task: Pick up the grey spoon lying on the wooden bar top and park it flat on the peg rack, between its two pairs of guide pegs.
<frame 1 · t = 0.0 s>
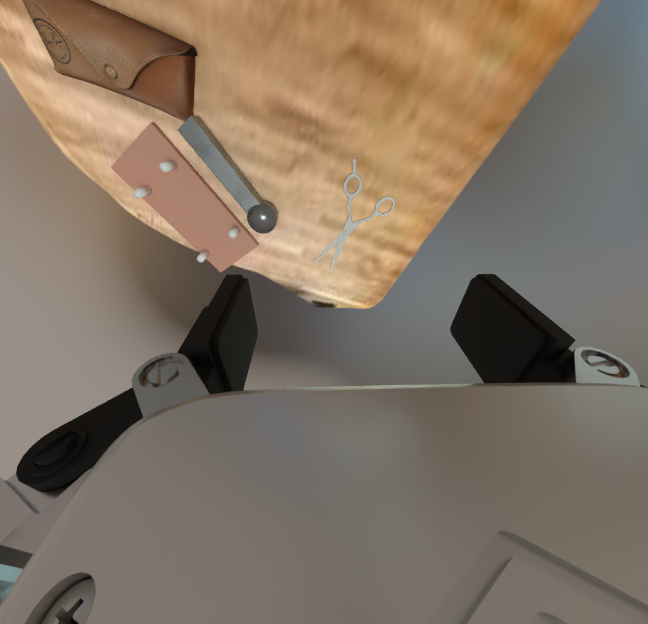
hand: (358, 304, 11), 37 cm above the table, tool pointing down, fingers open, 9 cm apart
scissors: (346, 227, 46), on the table
grey spoon: (228, 168, 39), on the table
sunglasses case: (126, 61, 32), on the table
peg rack: (194, 208, 43), on the table
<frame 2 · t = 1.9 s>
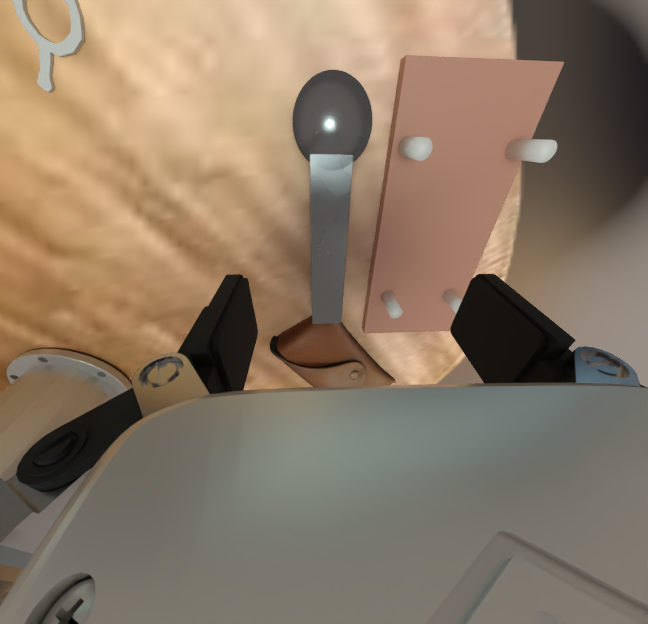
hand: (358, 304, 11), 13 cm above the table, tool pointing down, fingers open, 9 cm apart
grey spoon: (326, 243, 22), on the table
sunglasses case: (340, 358, 32), on the table
peg rack: (430, 233, 22), on the table
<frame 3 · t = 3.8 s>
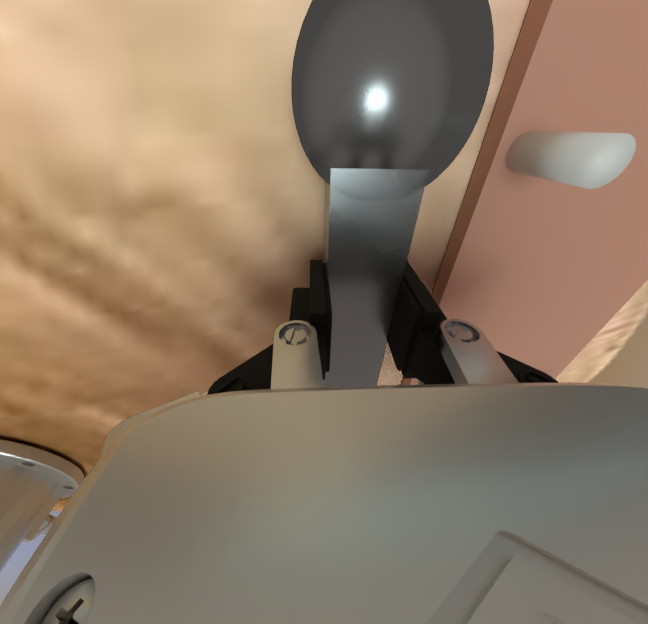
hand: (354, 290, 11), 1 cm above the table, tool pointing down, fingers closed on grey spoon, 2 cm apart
grey spoon: (348, 306, 14), on the table, touching gripper
peg rack: (521, 293, 13), on the table
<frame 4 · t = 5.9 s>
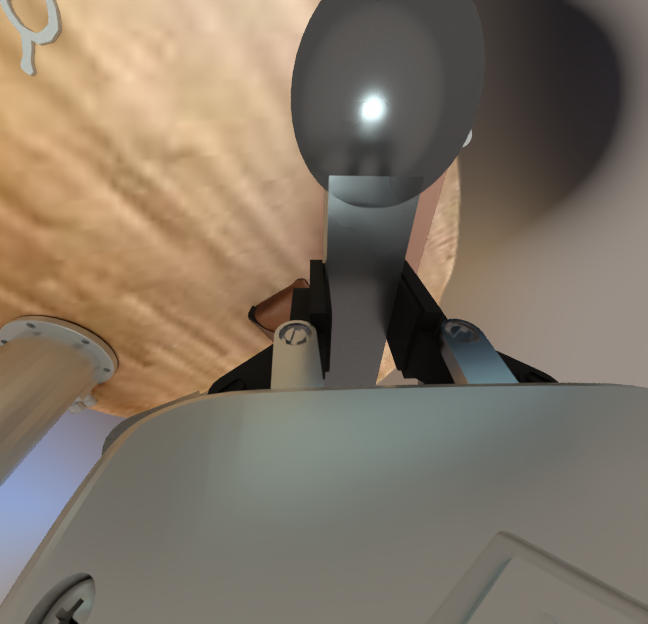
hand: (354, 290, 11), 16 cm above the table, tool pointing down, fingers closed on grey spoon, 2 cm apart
grey spoon: (347, 309, 14), point 14 cm above the table, touching gripper
sunglasses case: (316, 332, 35), on the table
peg rack: (380, 213, 25), on the table
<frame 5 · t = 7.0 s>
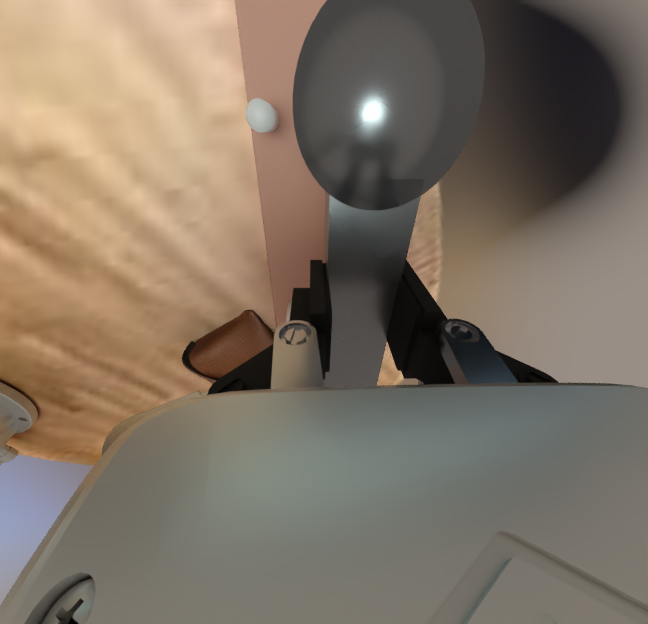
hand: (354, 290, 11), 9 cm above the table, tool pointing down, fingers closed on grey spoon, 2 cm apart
grey spoon: (347, 310, 14), point 7 cm above the table, touching gripper
sunglasses case: (277, 369, 28), on the table
peg rack: (334, 230, 18), on the table
when the fingers open (4 cm above the table, at t = 8.1 s): grey spoon drops 2 cm, resting on peg rack.
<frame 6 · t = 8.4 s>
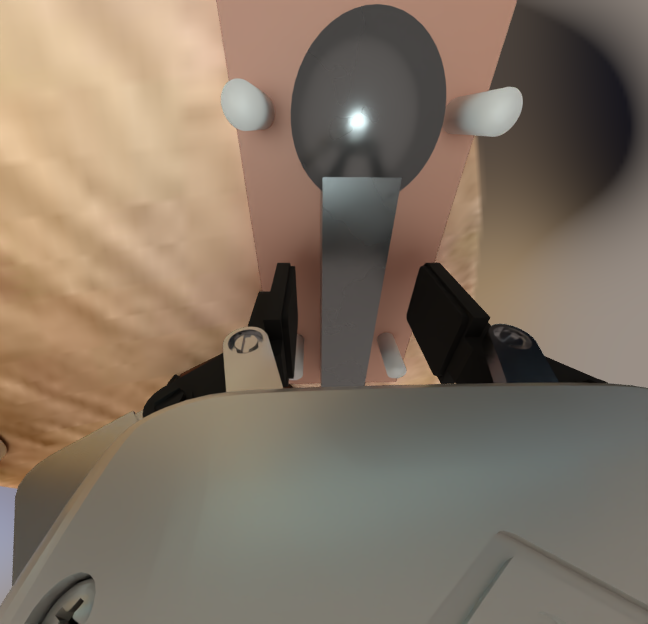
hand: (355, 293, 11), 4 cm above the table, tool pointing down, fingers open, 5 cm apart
grey spoon: (342, 296, 15), point 1 cm above the table, touching peg rack
peg rack: (345, 254, 15), on the table
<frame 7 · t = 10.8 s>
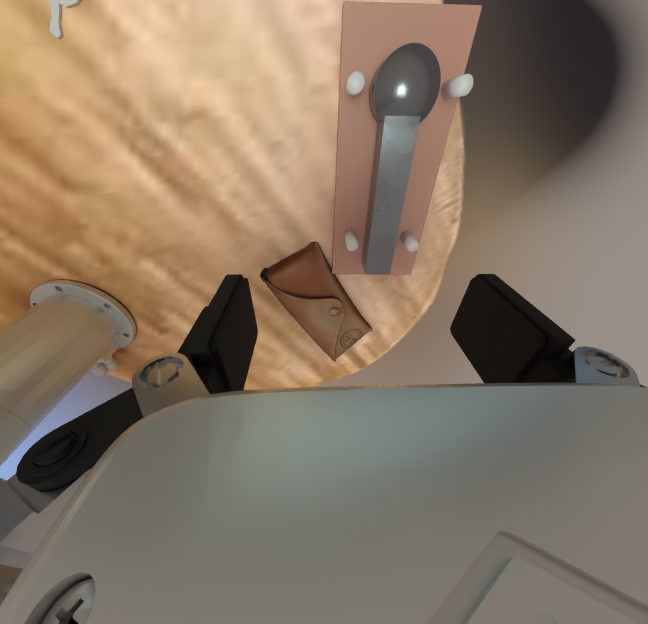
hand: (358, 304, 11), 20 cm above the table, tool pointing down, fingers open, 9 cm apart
grey spoon: (381, 201, 26), point 1 cm above the table, touching peg rack
sunglasses case: (323, 300, 36), on the table
peg rack: (384, 174, 25), on the table
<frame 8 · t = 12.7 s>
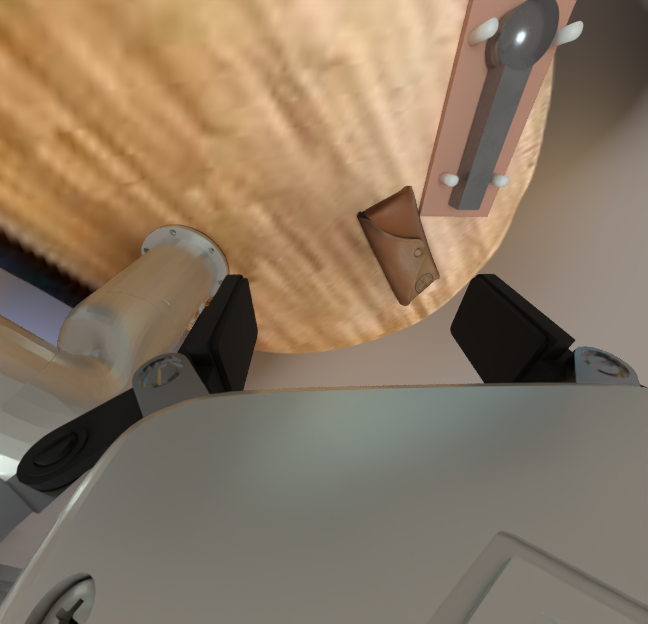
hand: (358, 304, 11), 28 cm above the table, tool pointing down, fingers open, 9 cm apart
grey spoon: (476, 144, 30), point 1 cm above the table, touching peg rack
sunglasses case: (401, 247, 40), on the table
peg rack: (481, 120, 30), on the table
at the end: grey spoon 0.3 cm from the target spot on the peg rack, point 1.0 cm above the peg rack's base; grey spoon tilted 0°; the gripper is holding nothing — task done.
